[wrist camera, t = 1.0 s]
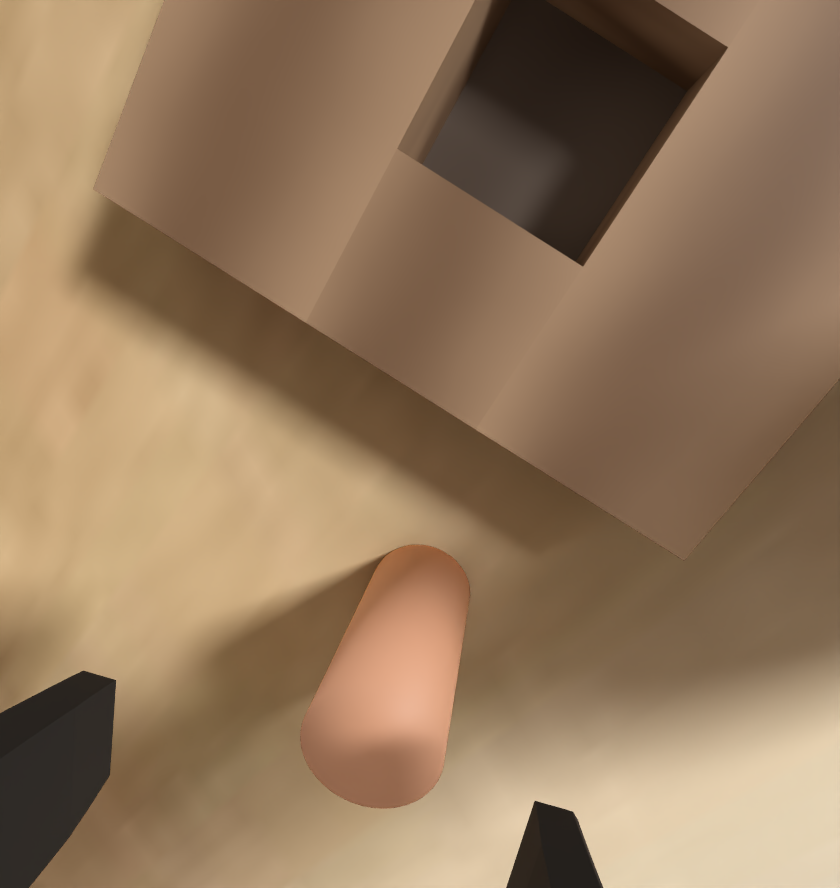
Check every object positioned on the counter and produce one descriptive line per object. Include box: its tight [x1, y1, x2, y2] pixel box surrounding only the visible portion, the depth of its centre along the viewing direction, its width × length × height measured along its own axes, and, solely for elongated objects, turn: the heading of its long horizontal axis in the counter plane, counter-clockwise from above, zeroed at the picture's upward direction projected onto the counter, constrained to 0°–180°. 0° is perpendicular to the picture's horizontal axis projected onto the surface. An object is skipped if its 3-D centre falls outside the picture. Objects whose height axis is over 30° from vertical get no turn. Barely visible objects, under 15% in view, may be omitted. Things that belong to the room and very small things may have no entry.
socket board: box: [93, 0, 840, 560], centre depth 14 cm, size 16×13×4 cm
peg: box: [300, 545, 470, 808], centre depth 17 cm, size 3×3×7 cm
